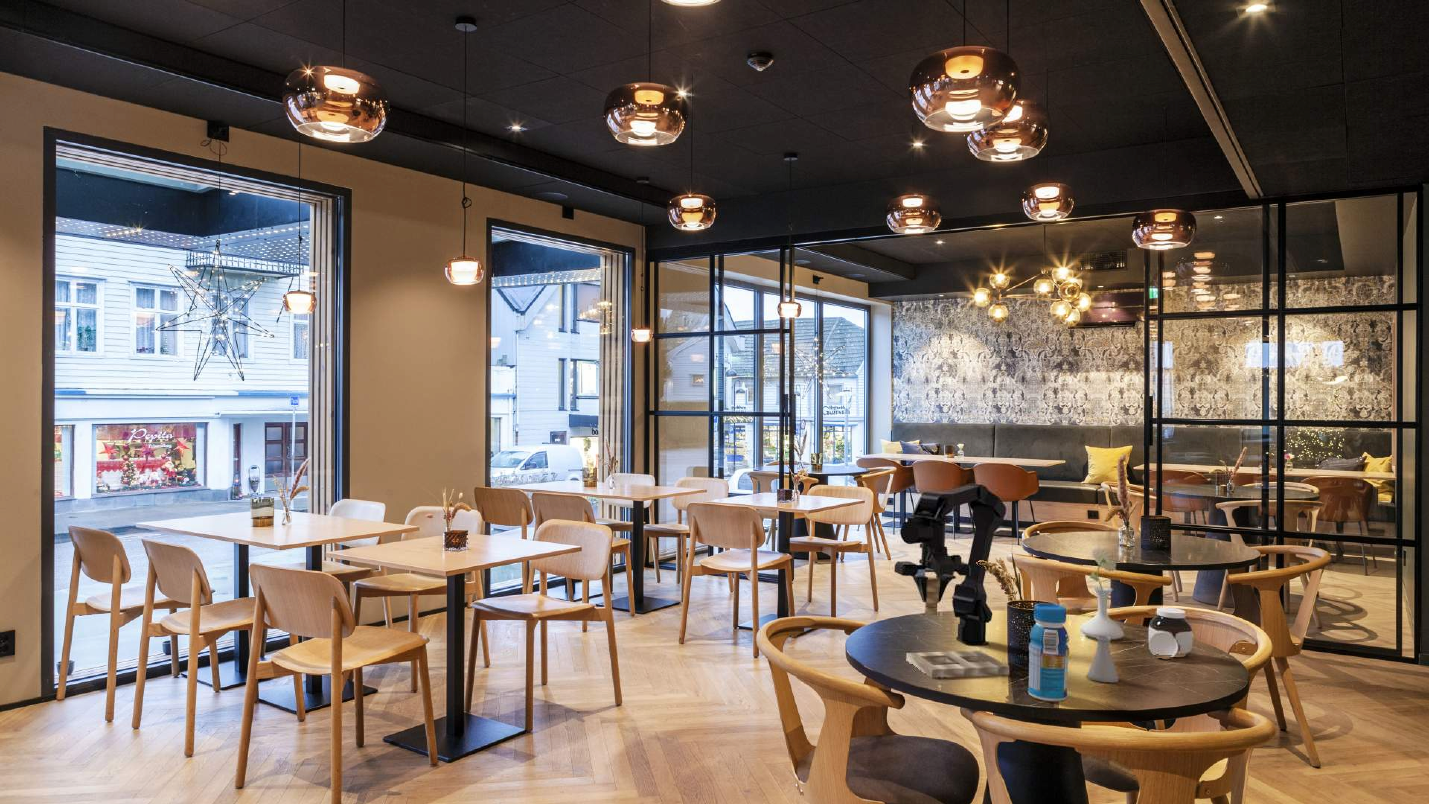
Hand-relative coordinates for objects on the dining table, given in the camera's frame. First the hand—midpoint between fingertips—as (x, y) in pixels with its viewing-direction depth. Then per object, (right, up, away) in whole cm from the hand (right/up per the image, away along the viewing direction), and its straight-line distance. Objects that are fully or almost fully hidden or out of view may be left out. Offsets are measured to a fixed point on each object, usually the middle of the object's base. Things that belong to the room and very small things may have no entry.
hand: (931, 602), depth 239 cm
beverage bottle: (+18, -14, -33) cm, 40 cm away
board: (+3, -13, -13) cm, 19 cm away
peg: (0, -3, 0) cm, 3 cm away
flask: (+36, -15, -18) cm, 43 cm away
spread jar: (+63, -15, +4) cm, 65 cm away
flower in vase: (+53, -15, +22) cm, 59 cm away
